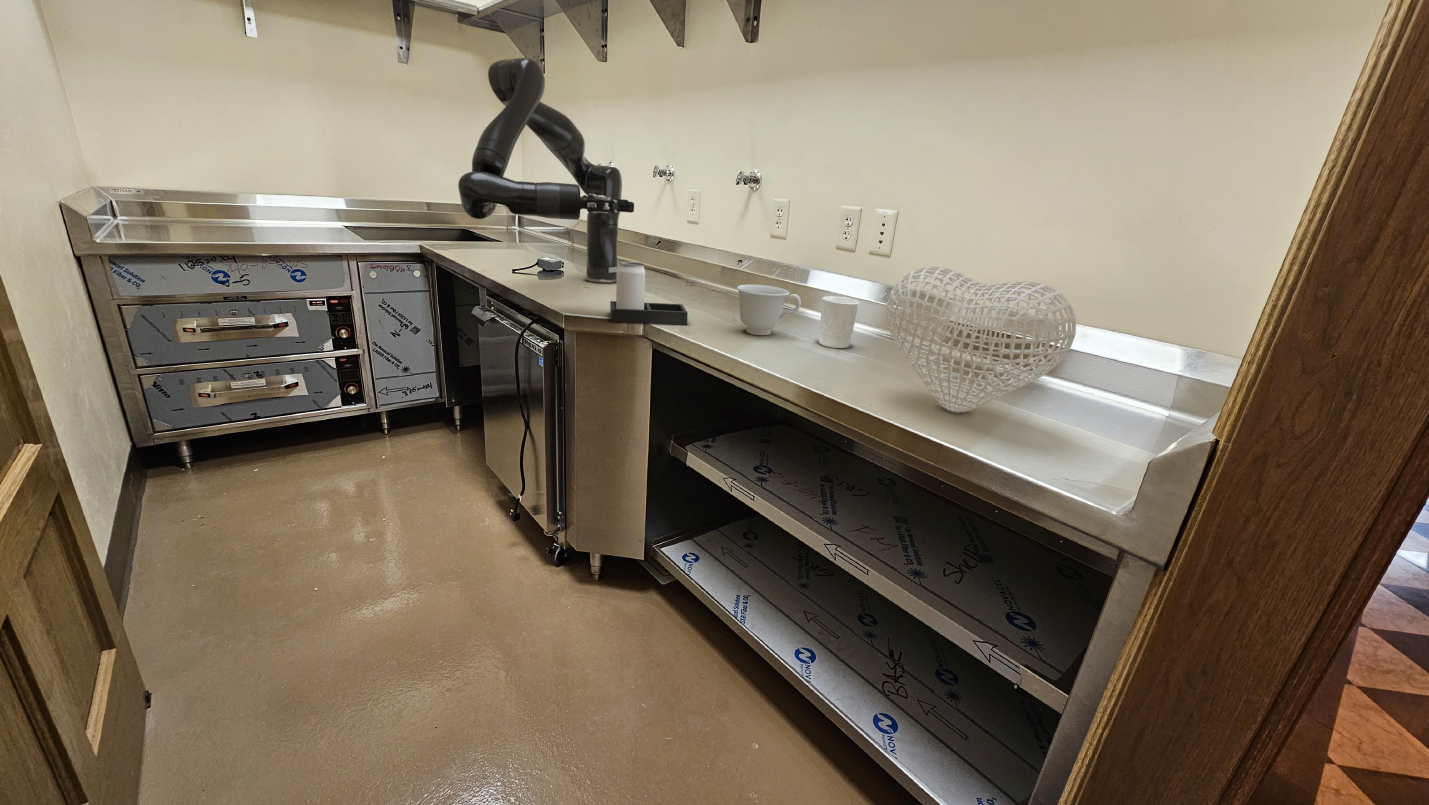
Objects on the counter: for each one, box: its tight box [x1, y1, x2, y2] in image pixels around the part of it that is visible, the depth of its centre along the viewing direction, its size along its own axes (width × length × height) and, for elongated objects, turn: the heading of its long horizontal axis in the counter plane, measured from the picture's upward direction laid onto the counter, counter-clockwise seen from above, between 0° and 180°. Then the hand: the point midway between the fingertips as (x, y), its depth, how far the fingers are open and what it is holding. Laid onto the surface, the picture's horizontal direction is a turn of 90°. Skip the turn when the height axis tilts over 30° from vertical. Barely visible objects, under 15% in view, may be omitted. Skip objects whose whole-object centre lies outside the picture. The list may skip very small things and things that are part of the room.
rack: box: [609, 300, 689, 326], centre depth 144 cm, size 9×17×3 cm, turn 101°
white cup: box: [818, 295, 860, 349], centre depth 134 cm, size 8×8×10 cm
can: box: [615, 261, 646, 310], centre depth 141 cm, size 6×6×12 cm
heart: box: [885, 266, 1077, 413], centre depth 96 cm, size 28×16×22 cm, turn 46°
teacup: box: [736, 283, 802, 336], centre depth 138 cm, size 12×15×10 cm
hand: (630, 206), depth 138 cm, fingers open, 8 cm apart
